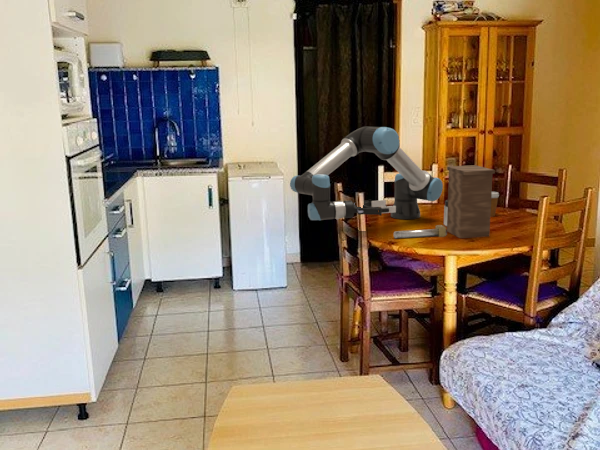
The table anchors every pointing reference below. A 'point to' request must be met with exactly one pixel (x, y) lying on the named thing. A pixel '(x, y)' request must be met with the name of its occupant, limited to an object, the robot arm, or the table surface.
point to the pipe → (422, 232)
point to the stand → (469, 201)
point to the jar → (445, 212)
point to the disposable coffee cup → (494, 202)
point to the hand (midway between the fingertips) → (390, 206)
